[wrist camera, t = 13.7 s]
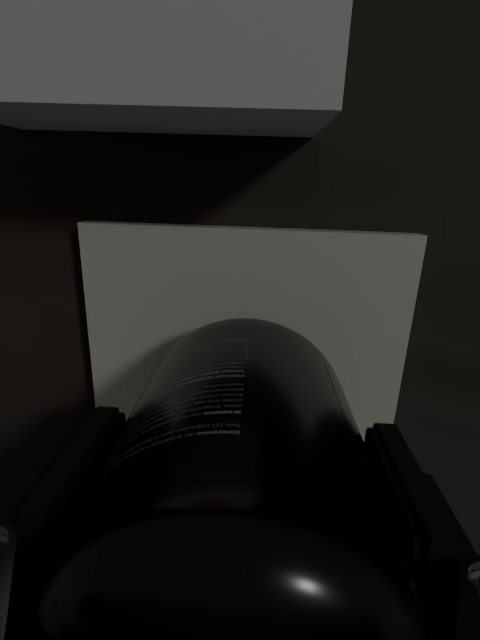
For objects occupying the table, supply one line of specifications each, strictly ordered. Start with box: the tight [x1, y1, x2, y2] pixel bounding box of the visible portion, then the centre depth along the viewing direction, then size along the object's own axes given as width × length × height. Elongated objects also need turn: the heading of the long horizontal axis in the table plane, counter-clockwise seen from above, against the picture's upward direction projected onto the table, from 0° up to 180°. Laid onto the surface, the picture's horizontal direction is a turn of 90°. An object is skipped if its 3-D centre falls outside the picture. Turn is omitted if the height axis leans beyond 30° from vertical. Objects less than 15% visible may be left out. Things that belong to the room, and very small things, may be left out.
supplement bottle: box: [23, 318, 438, 640], centre depth 9 cm, size 7×7×12 cm
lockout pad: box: [77, 221, 427, 441], centre depth 16 cm, size 12×12×1 cm
